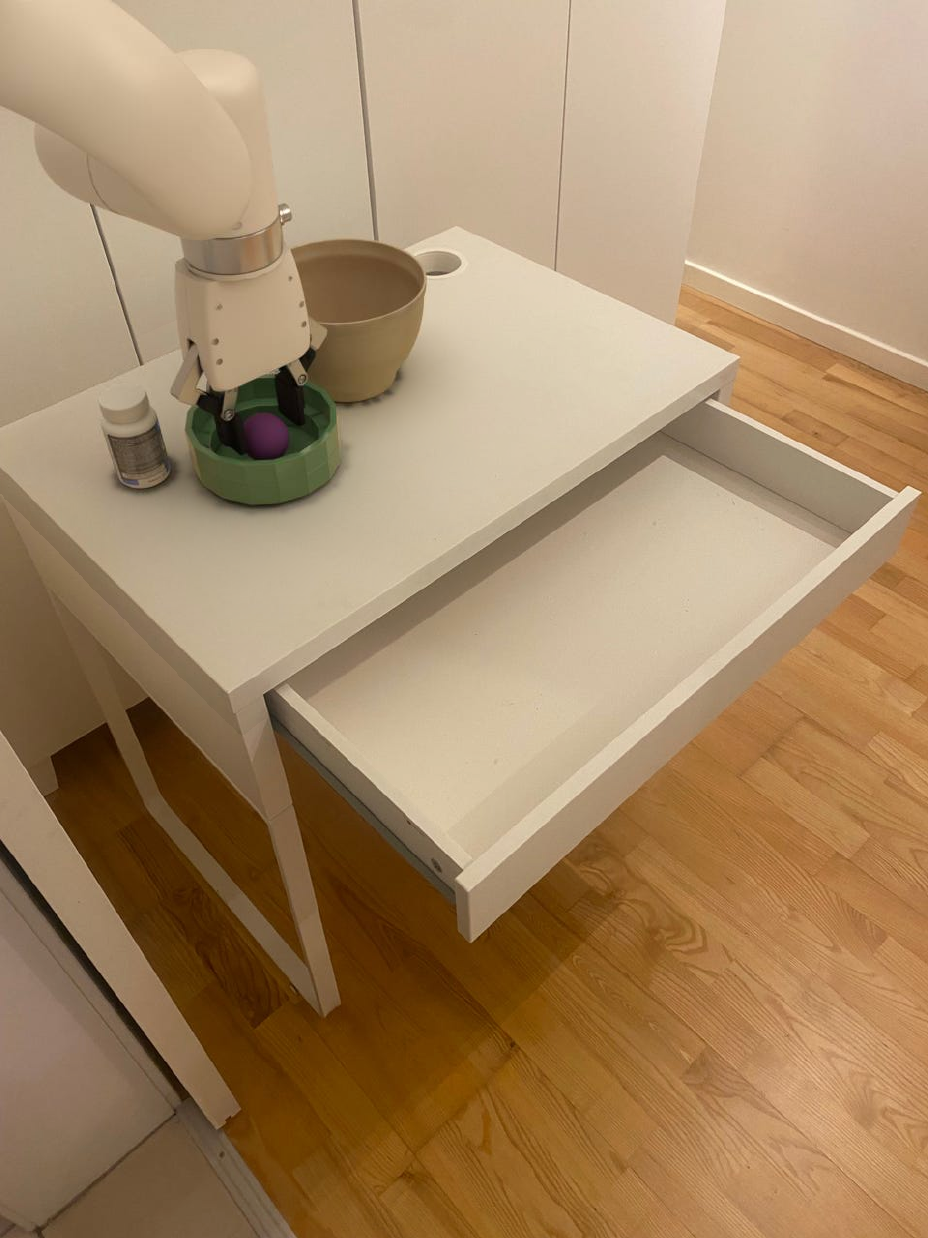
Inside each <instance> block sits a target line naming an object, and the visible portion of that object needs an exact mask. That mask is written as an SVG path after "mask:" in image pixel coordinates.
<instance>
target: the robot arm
mask: <svg viewBox="0 0 928 1238" xmlns="http://www.w3.org/2000/svg"><path fill="white" fill-rule="evenodd" d="M0 107H2V108H4V109H7V110H8V111H11V112H13V113H15V114H17V115H20V116H22V117H23V118H26V119H27V120H29V121H32V122H34V123H35V125H34V130H33V131H34V132H33V133H34V134H33V136H34V137H33V138H34V148H35V152H36V156H37V158H38V161H39V163H40V165H41V167H42V168H43V170H44V172H45V173H46V174H47V177H49V179H51V180H52V182H53V183H54V184H55V185H56V186H58V188H60V189H61V190H63V192H66V194H68V195H70V196H71V197H74V198H76V199H78V200H80V201H82V202H84V203H87V204H89V205H93V206H95V207H97V208H100V209H103V210H104V211H105V210H106V211H107V212H111V213H113V214H116V215H118V216H121V217H125V218H129V219H131V220H134V221H137V222H139V223H142V224H145V225H147V226H150V227H152V228H156V229H158V230H161V231H163V232H166V233H167V234H170V235H172V236H173V235H174V236H176V237H179V240H180V244H181V249H182V255H183V258H181V259H179V260H177V261H176V262H175V265H174V306H175V317H176V325H177V332H178V339H179V346H180V352H181V355H182V359H183V362H182V364H181V366H180V368H179V370H178V372H177V374H176V376H175V379H174V381H173V383H172V384H171V387H170V390H169V393H170V394H171V396H172V397H174V398H175V399H176V400H177V401H179V402H180V403H183V404H185V405H189V406H191V407H192V406H194V407H195V406H196V407H199V408H201V409H202V410H204V411H206V412H209V413H211V414H213V415H214V420H215V425H216V429H217V434H218V437H219V440H220V441H221V443H222V444H224V445H225V446H226V447H228V446H229V447H231V448H232V449H233V450H234V451H236V452H237V453H238V454H239V455H241V456H242V455H244V454H246V453H247V451H248V448H247V442H246V437H245V431H244V426H243V421H242V418H241V416H240V415H239V414H237V413H236V412H235V408H236V401H237V394H238V387H239V386H241V385H243V384H245V383H247V382H250V381H252V380H254V379H256V378H258V377H261V376H263V375H265V374H270V373H271V372H274V371H276V370H278V371H279V372H278V373H274V374H275V379H274V381H275V388H276V395H277V401H278V408H279V412H280V413H281V414H282V415H283V416H285V417H286V418H287V419H289V420H290V421H291V422H293V423H294V424H295V425H297V426H302V425H304V424H305V416H304V408H305V402H304V394H303V386H302V385H304V384H305V383H306V382H307V379H308V376H307V374H306V373H307V371H308V369H309V367H310V366H311V364H312V362H313V360H314V358H315V356H316V350H318V349H319V347H320V345H321V344H322V342H323V341H324V339H325V337H326V336H327V334H328V330H327V329H326V328H325V327H324V326H322V325H321V324H320V323H318V322H317V321H315V320H314V319H313V318H311V317H310V316H308V314H307V308H306V303H305V298H304V293H303V289H302V284H301V281H300V277H299V274H298V270H297V267H296V264H295V262H294V259H293V256H292V253H291V251H290V248H291V247H290V246H289V244H288V242H286V241H285V240H284V233H283V226H284V225H285V223H288V222H291V220H292V218H293V214H292V211H291V208H290V207H289V205H288V204H287V203H285V202H284V203H281V204H279V202H278V196H277V195H278V194H277V187H276V180H275V171H274V164H273V157H272V148H271V141H270V132H269V125H268V116H267V109H266V100H265V92H264V86H263V81H262V78H261V75H260V72H259V71H258V69H257V67H256V66H255V64H253V62H252V61H251V59H249V58H247V57H246V56H243V55H242V54H241V53H238V52H235V51H231V50H226V49H221V48H209V47H207V48H205V47H204V48H192V49H186V50H182V51H178V52H174V51H173V50H172V49H171V48H169V46H167V44H165V43H164V42H163V41H162V40H161V39H159V38H158V37H157V36H156V35H155V34H154V33H153V32H152V31H151V30H149V29H148V28H147V27H146V26H144V25H143V24H142V23H141V22H139V21H138V20H137V19H136V18H135V17H133V16H132V15H131V14H130V13H128V12H127V11H126V10H124V9H123V8H122V7H121V6H119V5H118V4H116V2H114V1H113V0H0ZM203 374H204V376H205V378H206V385H205V390H204V389H201V388H199V387H198V384H199V382H200V380H201V378H202V376H203ZM221 392H222V394H221Z"/></svg>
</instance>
